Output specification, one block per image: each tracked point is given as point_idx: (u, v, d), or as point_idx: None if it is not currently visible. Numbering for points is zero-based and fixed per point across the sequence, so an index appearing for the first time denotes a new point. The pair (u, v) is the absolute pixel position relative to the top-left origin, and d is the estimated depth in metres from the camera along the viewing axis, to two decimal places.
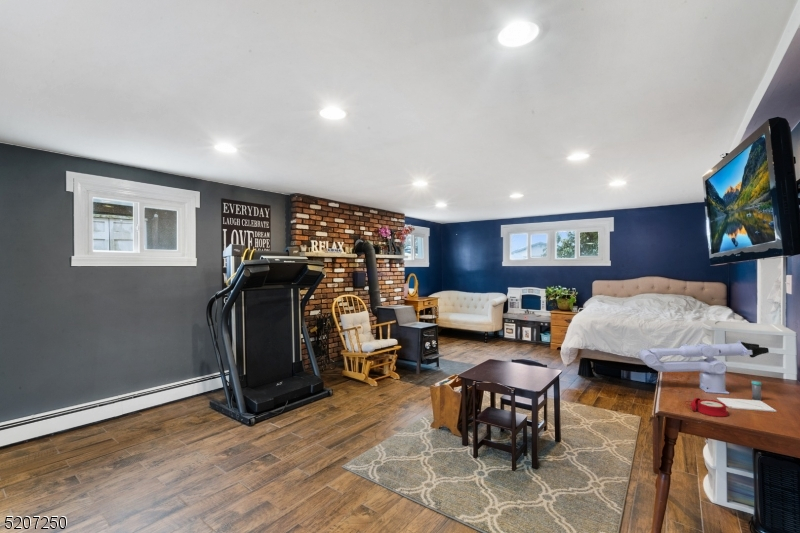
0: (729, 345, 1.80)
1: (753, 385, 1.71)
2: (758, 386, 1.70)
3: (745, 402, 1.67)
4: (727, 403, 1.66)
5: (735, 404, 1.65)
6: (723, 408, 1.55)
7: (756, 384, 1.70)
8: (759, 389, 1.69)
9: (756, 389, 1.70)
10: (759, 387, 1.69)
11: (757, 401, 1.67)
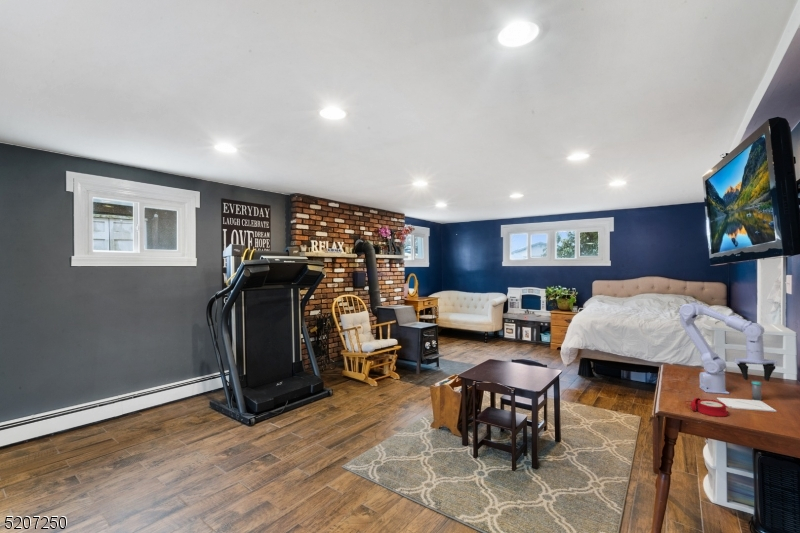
0: (753, 351, 1.69)
1: (753, 385, 1.71)
2: (758, 386, 1.70)
3: (745, 402, 1.67)
4: (727, 403, 1.66)
5: (735, 404, 1.65)
6: (723, 408, 1.55)
7: (756, 384, 1.70)
8: (759, 389, 1.69)
9: (756, 389, 1.70)
10: (759, 387, 1.69)
11: (757, 401, 1.67)
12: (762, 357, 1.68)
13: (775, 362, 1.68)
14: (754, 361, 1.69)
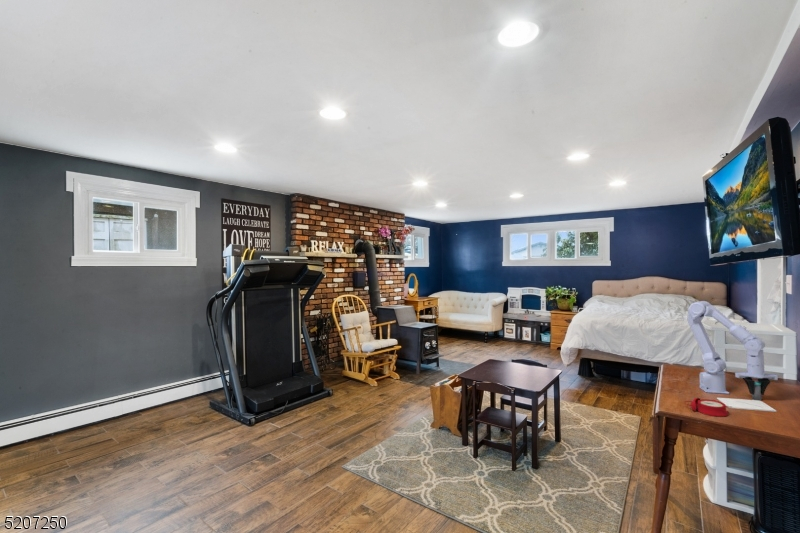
0: (754, 366, 1.69)
1: None
2: (758, 386, 1.69)
3: (745, 402, 1.67)
4: (727, 403, 1.66)
5: (735, 404, 1.65)
6: (723, 408, 1.55)
7: (756, 384, 1.70)
8: (759, 389, 1.69)
9: (756, 389, 1.70)
10: (759, 387, 1.69)
11: (757, 401, 1.67)
12: (763, 372, 1.68)
13: (776, 377, 1.68)
14: (755, 375, 1.69)
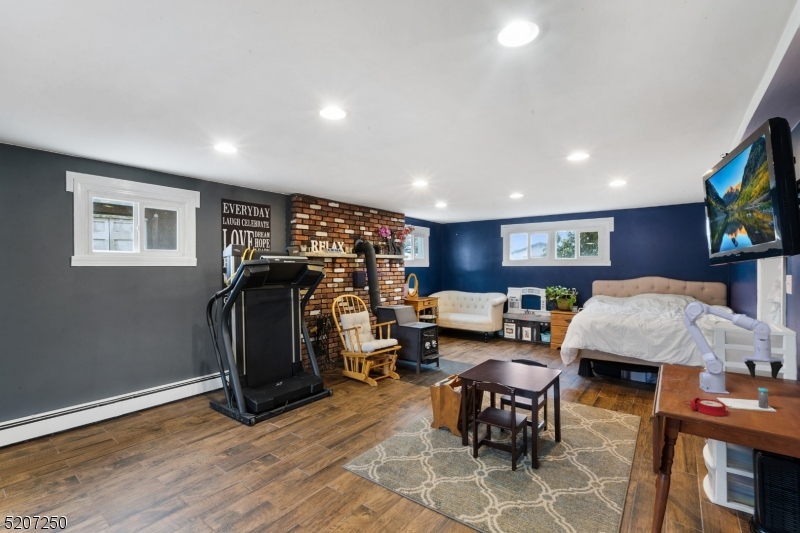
0: (761, 349, 1.71)
1: (760, 392, 1.60)
2: (765, 393, 1.59)
3: (745, 402, 1.67)
4: (727, 403, 1.66)
5: (735, 404, 1.65)
6: (723, 408, 1.55)
7: (763, 391, 1.59)
8: (766, 396, 1.59)
9: (762, 396, 1.60)
10: (766, 394, 1.59)
11: (757, 401, 1.67)
12: (769, 355, 1.70)
13: (782, 360, 1.69)
14: (761, 359, 1.70)
